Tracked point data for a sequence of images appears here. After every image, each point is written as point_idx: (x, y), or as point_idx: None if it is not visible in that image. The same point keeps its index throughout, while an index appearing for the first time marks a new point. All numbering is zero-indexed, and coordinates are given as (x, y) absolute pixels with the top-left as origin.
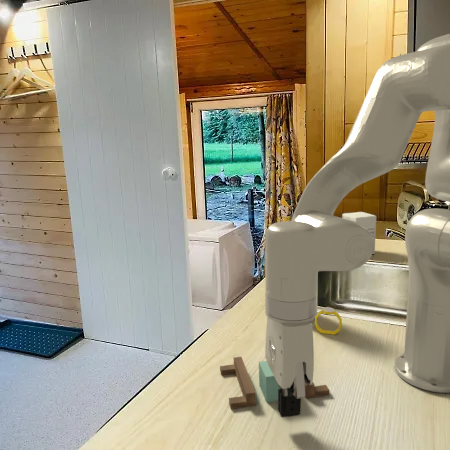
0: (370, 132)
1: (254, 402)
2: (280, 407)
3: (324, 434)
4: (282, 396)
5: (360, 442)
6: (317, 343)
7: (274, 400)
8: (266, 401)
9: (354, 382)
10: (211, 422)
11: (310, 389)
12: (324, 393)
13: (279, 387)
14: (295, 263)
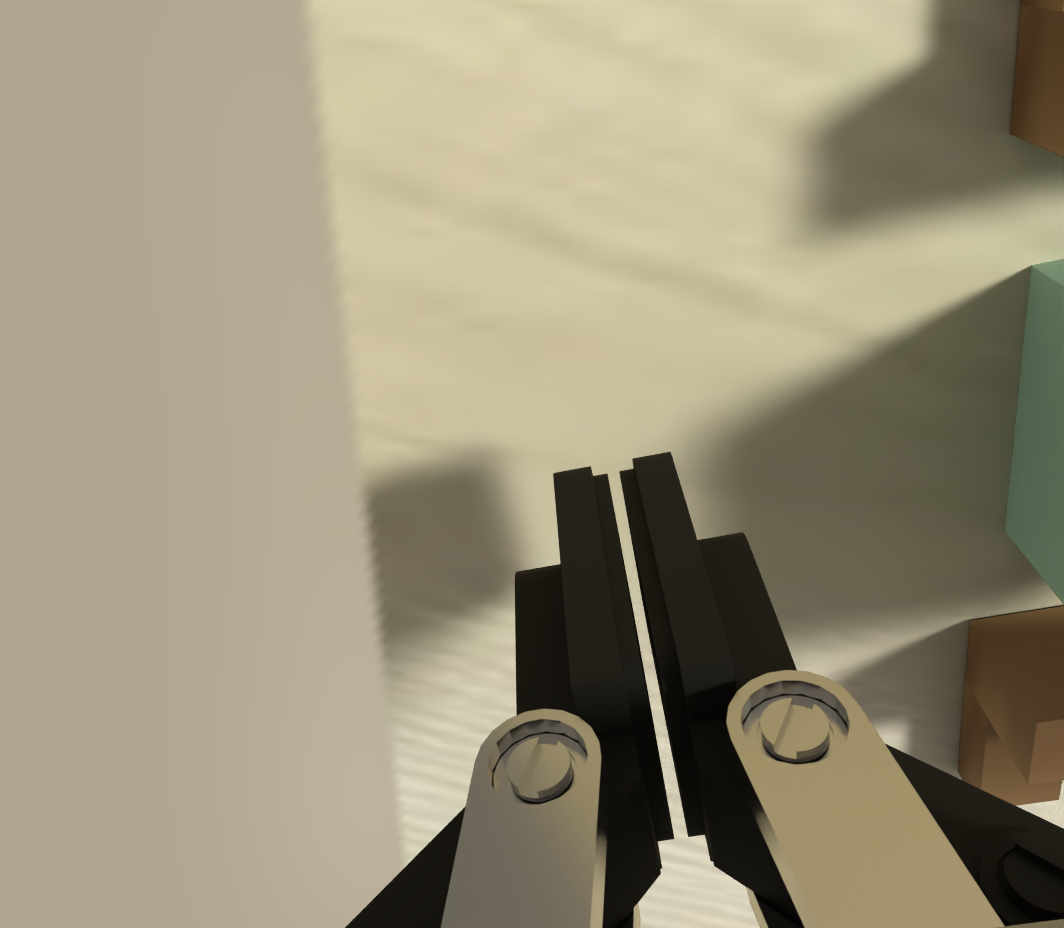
0: None
1: (1035, 125)
2: (577, 531)
3: (502, 682)
4: (573, 676)
5: (430, 841)
6: None
7: (1025, 357)
8: (1036, 270)
9: None
10: None
11: (1007, 717)
12: (968, 759)
13: (748, 686)
14: None
